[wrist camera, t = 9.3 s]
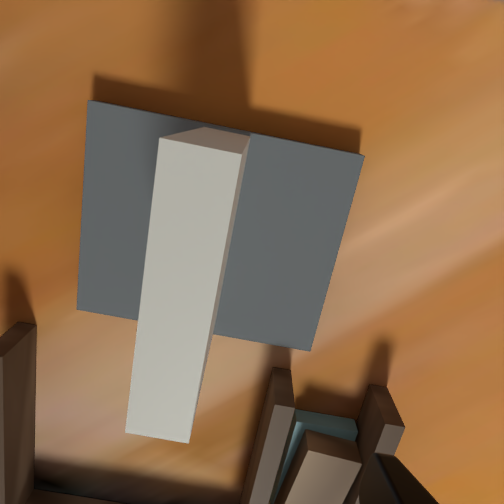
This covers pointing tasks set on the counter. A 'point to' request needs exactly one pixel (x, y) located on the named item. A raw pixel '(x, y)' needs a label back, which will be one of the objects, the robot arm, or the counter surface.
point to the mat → (244, 231)
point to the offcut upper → (320, 470)
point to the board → (183, 276)
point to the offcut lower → (315, 423)
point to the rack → (263, 454)
